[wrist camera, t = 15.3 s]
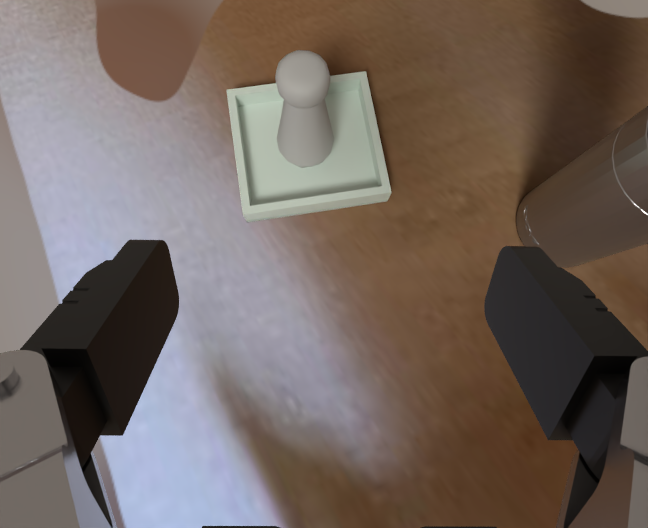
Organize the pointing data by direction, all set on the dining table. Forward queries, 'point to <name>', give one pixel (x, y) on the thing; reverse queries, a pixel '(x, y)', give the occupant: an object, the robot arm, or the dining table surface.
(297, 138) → the salt shaker
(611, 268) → the dining table surface
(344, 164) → the tray
